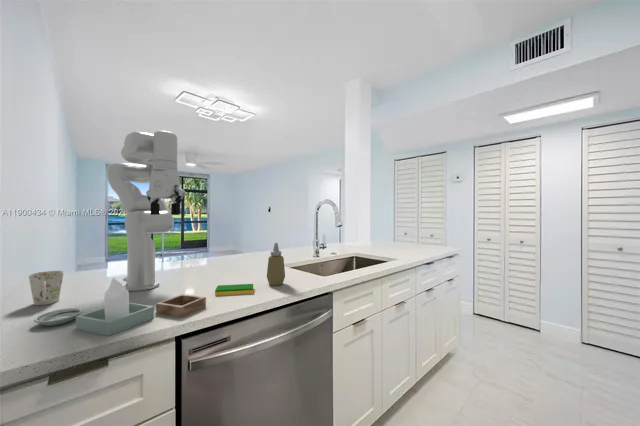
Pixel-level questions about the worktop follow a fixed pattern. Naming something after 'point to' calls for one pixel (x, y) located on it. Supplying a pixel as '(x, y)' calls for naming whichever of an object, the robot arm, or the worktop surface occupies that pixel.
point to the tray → (100, 326)
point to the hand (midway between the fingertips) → (165, 214)
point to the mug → (46, 287)
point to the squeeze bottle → (275, 267)
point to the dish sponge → (234, 289)
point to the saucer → (57, 316)
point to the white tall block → (116, 301)
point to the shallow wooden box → (174, 309)
